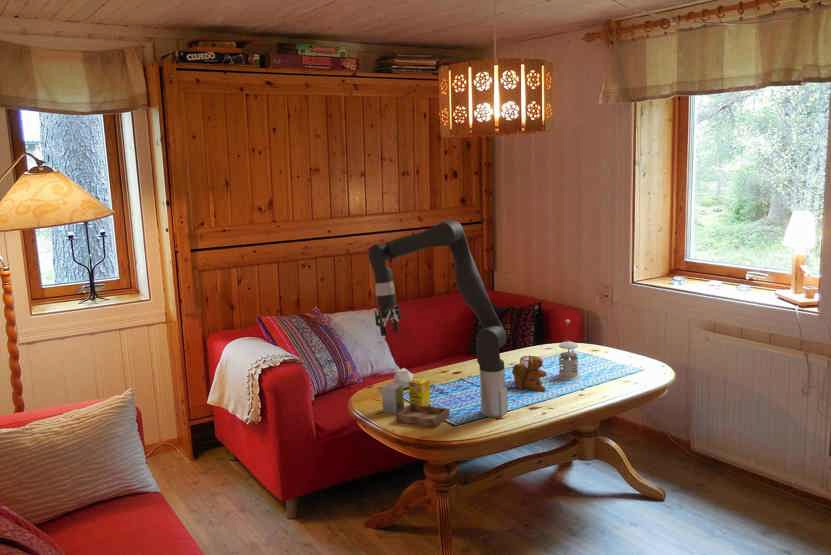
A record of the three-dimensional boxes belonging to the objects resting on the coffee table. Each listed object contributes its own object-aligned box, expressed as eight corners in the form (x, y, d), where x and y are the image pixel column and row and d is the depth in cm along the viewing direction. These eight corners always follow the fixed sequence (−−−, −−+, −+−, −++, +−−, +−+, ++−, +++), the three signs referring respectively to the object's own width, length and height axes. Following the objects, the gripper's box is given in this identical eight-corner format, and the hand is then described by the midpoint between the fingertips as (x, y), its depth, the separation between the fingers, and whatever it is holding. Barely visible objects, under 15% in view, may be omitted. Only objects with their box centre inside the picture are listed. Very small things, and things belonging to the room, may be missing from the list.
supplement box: (409, 408, 274) (408, 381, 272) (418, 403, 279) (417, 377, 277) (422, 410, 271) (420, 383, 269) (430, 406, 276) (429, 379, 274)
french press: (555, 379, 299) (554, 321, 295) (559, 371, 310) (558, 315, 306) (578, 380, 296) (577, 322, 292) (582, 372, 307) (581, 316, 302)
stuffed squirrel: (546, 391, 285) (546, 360, 283) (511, 391, 287) (510, 360, 285) (546, 383, 294) (545, 353, 292) (512, 383, 297) (511, 353, 295)
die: (416, 390, 297) (418, 369, 301) (400, 385, 292) (402, 363, 296) (403, 393, 302) (405, 372, 307) (388, 388, 297) (390, 366, 302)
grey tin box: (404, 409, 274) (402, 384, 272) (396, 414, 269) (395, 389, 267) (390, 407, 277) (389, 382, 275) (383, 412, 271) (381, 387, 270)
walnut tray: (449, 416, 263) (449, 408, 263) (435, 427, 253) (434, 419, 253) (412, 411, 271) (411, 403, 270) (396, 422, 261) (396, 414, 260)
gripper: (382, 295, 271) (387, 337, 273) (403, 290, 283) (407, 330, 285) (367, 296, 276) (372, 337, 277) (388, 291, 287) (392, 330, 289)
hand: (390, 333), depth 281 cm, fingers open, 8 cm apart
